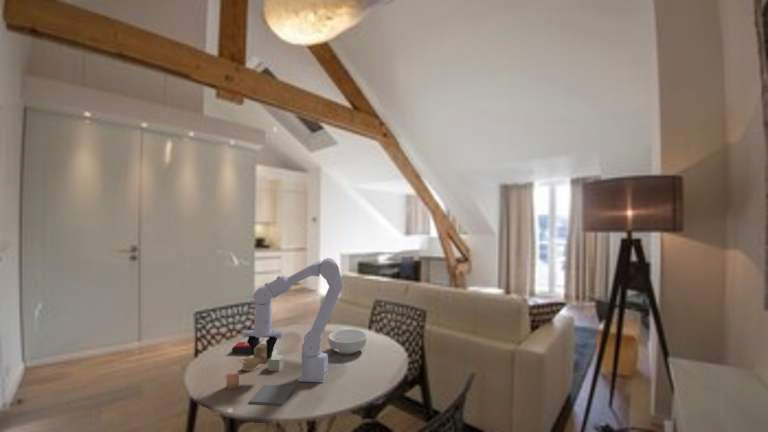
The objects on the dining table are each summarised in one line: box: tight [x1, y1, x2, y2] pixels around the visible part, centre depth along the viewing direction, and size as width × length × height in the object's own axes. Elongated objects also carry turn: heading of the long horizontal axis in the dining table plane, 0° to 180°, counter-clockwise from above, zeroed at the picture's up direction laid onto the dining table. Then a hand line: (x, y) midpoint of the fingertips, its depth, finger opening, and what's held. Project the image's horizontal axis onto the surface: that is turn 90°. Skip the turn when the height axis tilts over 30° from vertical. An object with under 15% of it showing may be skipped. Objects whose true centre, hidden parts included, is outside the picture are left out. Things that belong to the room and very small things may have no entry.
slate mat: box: [248, 384, 295, 406], centre depth 114 cm, size 11×11×1 cm
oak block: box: [254, 344, 271, 365], centre depth 125 cm, size 4×4×6 cm
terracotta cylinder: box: [225, 371, 240, 391], centre depth 120 cm, size 4×4×4 cm
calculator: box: [231, 337, 269, 355], centre depth 154 cm, size 11×4×15 cm
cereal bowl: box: [328, 328, 368, 355], centre depth 153 cm, size 17×17×7 cm
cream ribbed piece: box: [238, 354, 261, 372], centre depth 134 cm, size 4×8×5 cm, turn 127°
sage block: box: [267, 354, 285, 372], centre depth 135 cm, size 4×4×4 cm
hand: (262, 357), depth 125 cm, fingers closed on oak block, 4 cm apart
